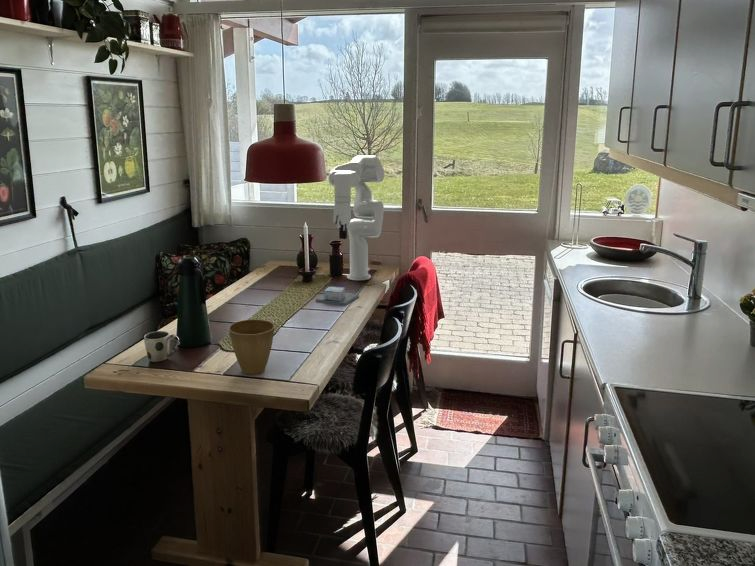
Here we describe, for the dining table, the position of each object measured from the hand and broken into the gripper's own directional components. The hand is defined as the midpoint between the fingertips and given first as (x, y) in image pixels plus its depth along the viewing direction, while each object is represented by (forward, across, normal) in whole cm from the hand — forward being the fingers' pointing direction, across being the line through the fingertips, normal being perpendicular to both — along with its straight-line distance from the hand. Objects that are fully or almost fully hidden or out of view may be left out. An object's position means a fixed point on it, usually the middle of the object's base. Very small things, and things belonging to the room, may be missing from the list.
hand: (343, 238), depth 295 cm
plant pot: (+27, +96, +14) cm, 101 cm away
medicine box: (+24, +8, 0) cm, 25 cm away
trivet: (+27, +10, +2) cm, 29 cm away
